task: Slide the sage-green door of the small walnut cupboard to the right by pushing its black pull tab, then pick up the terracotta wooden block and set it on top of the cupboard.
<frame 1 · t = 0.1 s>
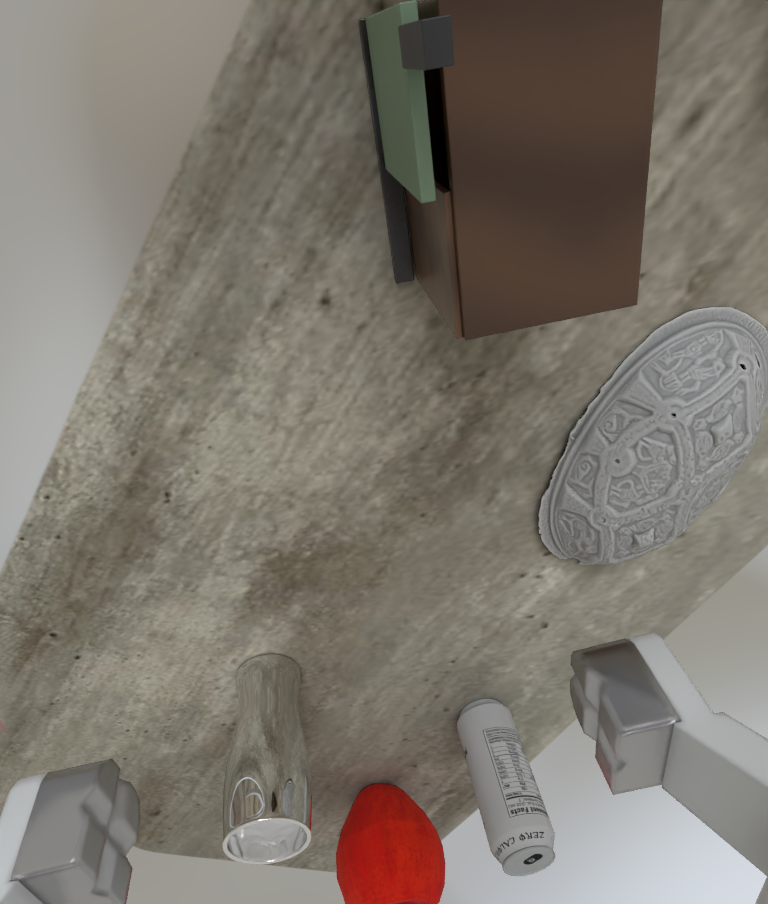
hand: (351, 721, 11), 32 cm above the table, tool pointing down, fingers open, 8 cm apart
beer glass: (268, 673, 58), on the table
cupboard: (481, 145, 36), on the table
door: (406, 105, 27), point 8 cm above the table, slide at 0.0 cm
energy drink can: (480, 711, 67), on the table
grey oval dome: (645, 448, 51), on the table
apple: (380, 790, 72), on the table
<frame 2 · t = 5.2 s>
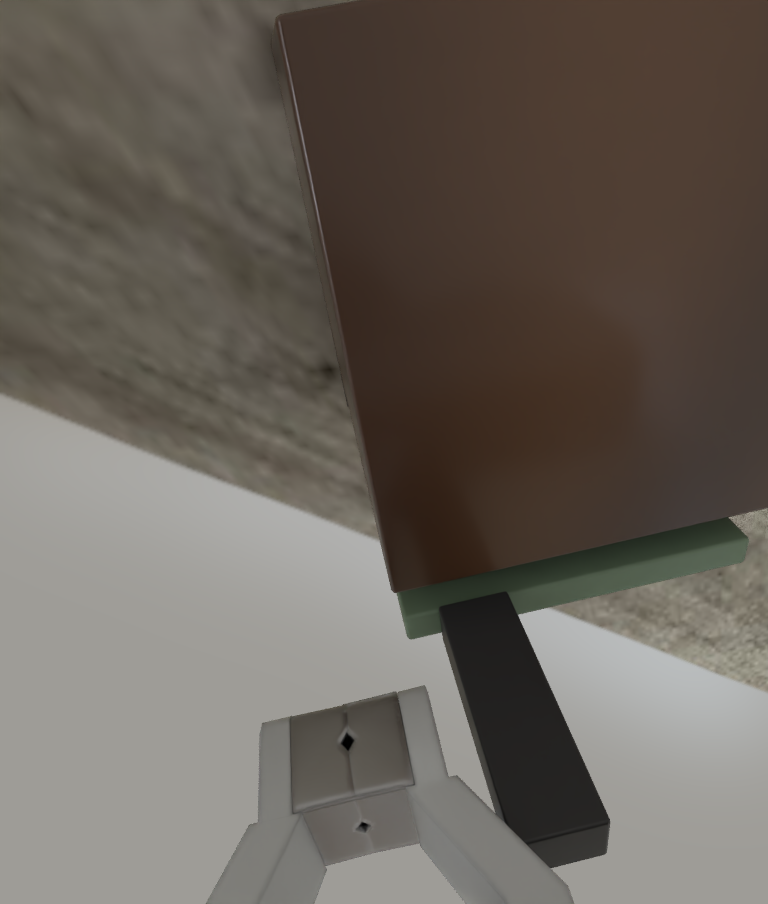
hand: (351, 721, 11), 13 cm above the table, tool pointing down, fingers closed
cupboard: (535, 176, 18), on the table
door: (530, 506, 15), point 8 cm above the table, slide at 0.1 cm, touching gripper
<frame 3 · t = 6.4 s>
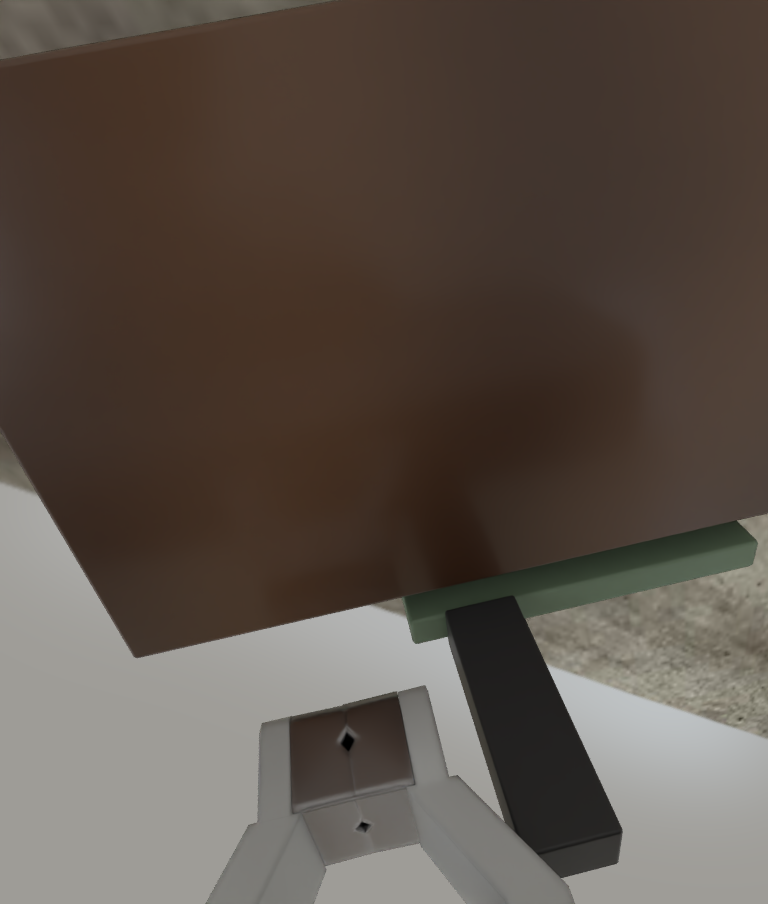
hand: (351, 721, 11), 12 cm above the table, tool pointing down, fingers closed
cupboard: (379, 207, 18), on the table
door: (535, 508, 15), point 8 cm above the table, slide at 5.1 cm, touching gripper
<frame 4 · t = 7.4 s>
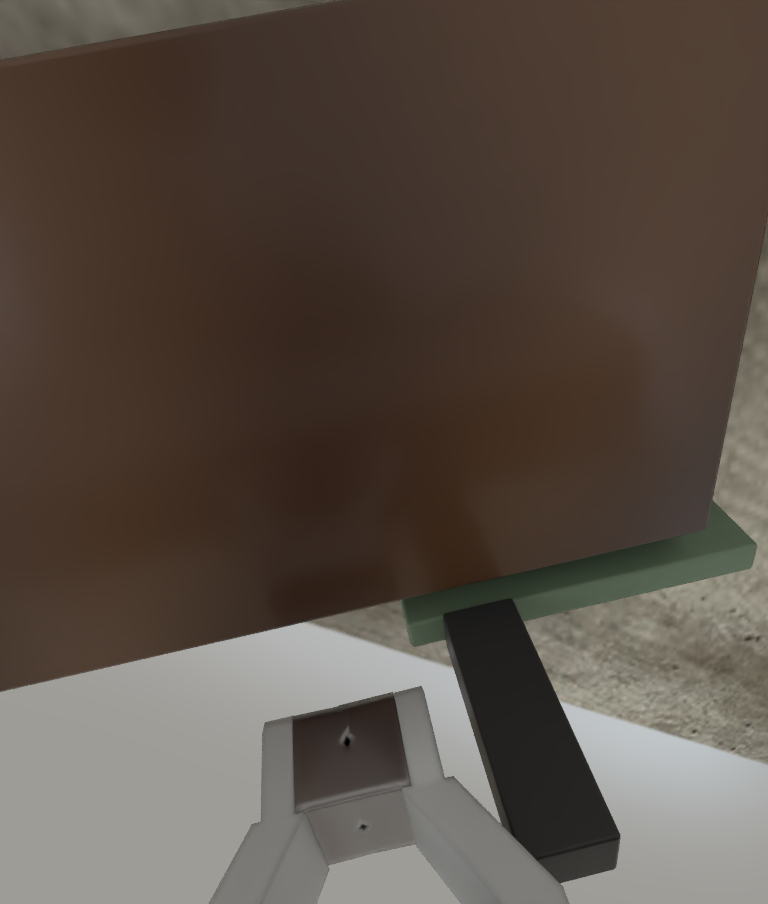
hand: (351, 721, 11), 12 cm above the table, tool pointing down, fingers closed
cupboard: (279, 227, 18), on the table
door: (534, 510, 14), point 8 cm above the table, slide at 8.0 cm, touching gripper
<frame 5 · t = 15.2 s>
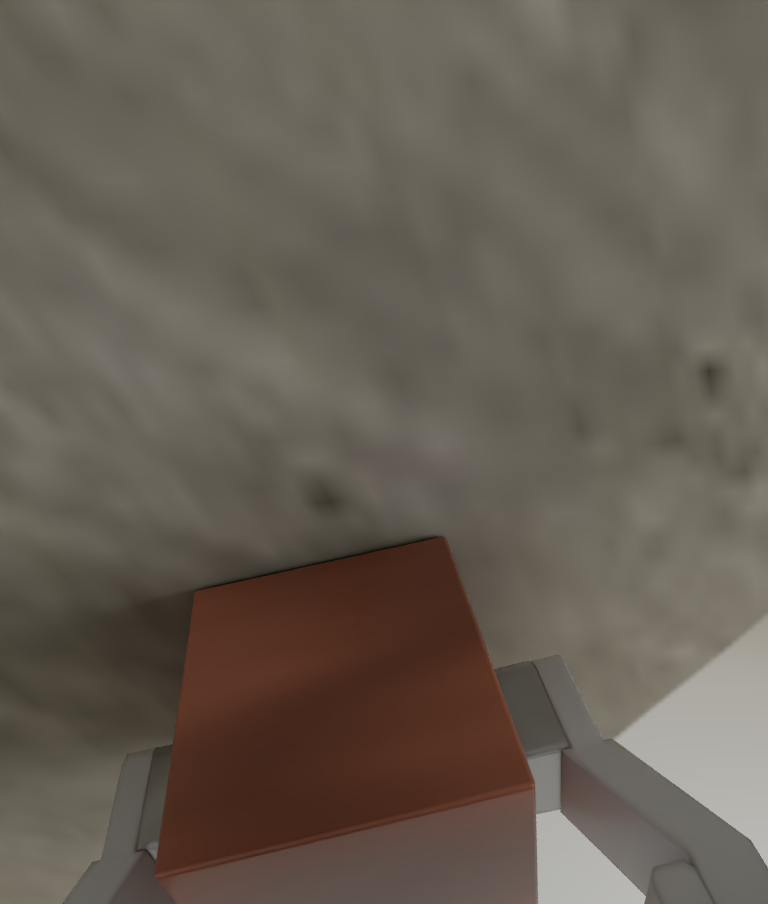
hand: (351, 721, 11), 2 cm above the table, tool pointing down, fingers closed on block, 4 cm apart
block: (344, 644, 12), on the table, touching gripper
when the fingers open (13 cm above the table, at t = 21.7 s): block stays where it is, resting on cupboard.
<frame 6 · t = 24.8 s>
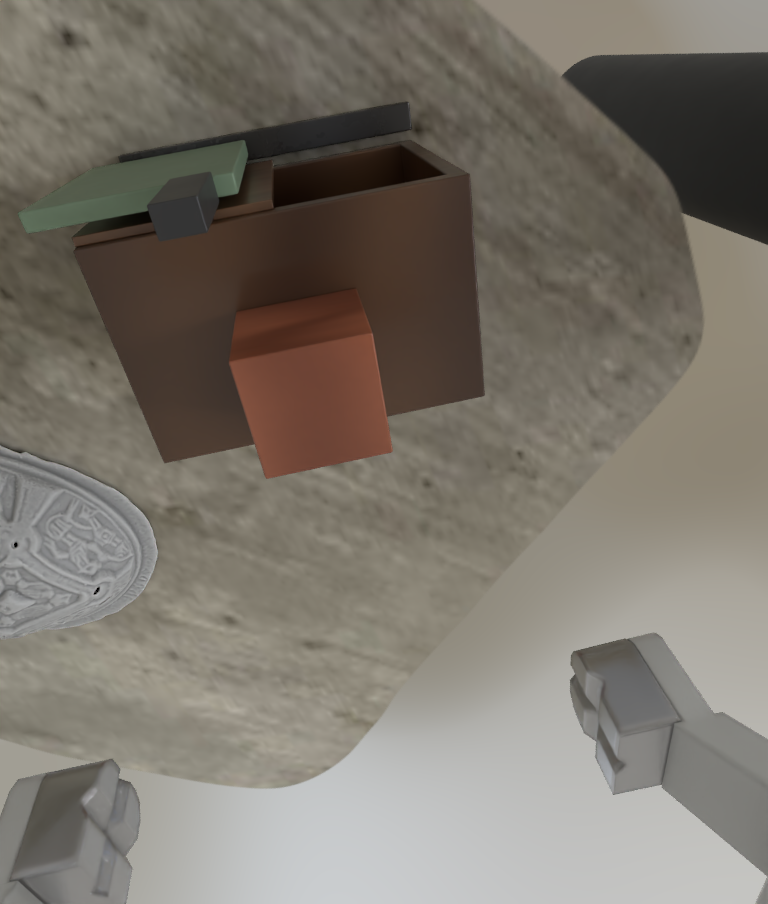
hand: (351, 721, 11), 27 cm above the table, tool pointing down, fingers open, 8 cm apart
block: (309, 355, 24), point 11 cm above the table, touching cupboard
cupboard: (294, 256, 33), on the table
door: (144, 188, 23), point 8 cm above the table, slide at 8.0 cm
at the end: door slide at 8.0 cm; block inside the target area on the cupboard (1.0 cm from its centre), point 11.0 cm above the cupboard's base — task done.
